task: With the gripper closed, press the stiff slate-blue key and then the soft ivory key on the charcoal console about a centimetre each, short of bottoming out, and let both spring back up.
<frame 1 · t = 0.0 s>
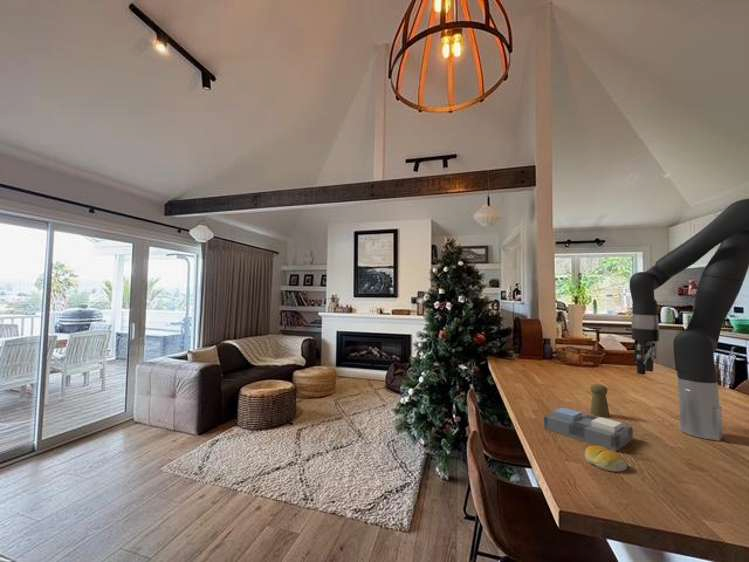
hand: (645, 372, 115), 17 cm above the table, tool pointing down, fingers open, 8 cm apart
slate-blue key: (567, 415, 108), point 4 cm above the table, slide at 0.0 cm
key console: (586, 433, 103), on the table
bread roll: (605, 465, 84), on the table
ivory key: (606, 425, 99), point 4 cm above the table, slide at 0.0 cm
cork: (600, 415, 121), on the table
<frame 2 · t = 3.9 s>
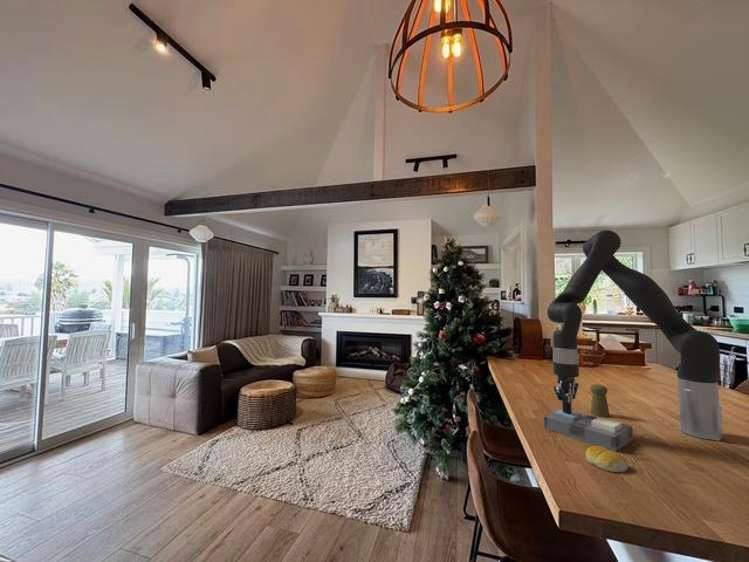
hand: (567, 412, 108), 5 cm above the table, tool pointing down, fingers closed
slate-blue key: (567, 416, 108), point 4 cm above the table, slide at 0.5 cm, touching gripper
everything else where it was.
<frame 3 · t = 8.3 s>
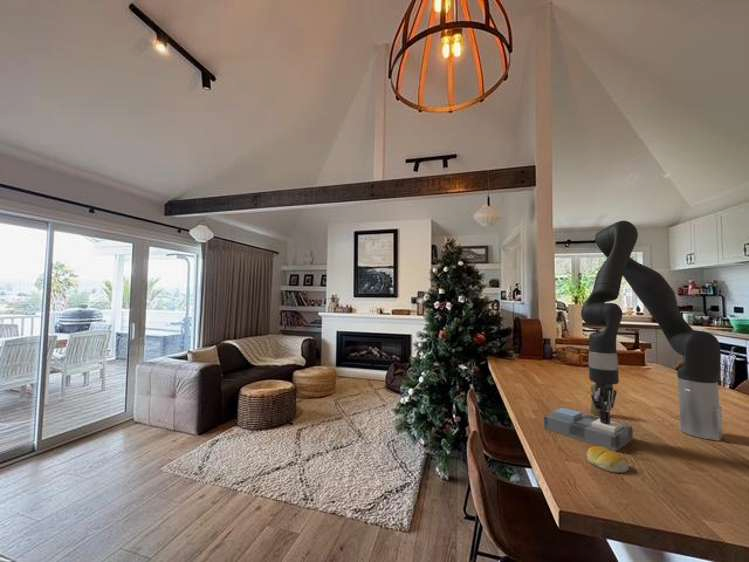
hand: (605, 423, 99), 5 cm above the table, tool pointing down, fingers closed
slate-blue key: (567, 415, 108), point 4 cm above the table, slide at 0.1 cm
ivory key: (606, 427, 98), point 4 cm above the table, slide at 0.5 cm, touching gripper
everything else where it was.
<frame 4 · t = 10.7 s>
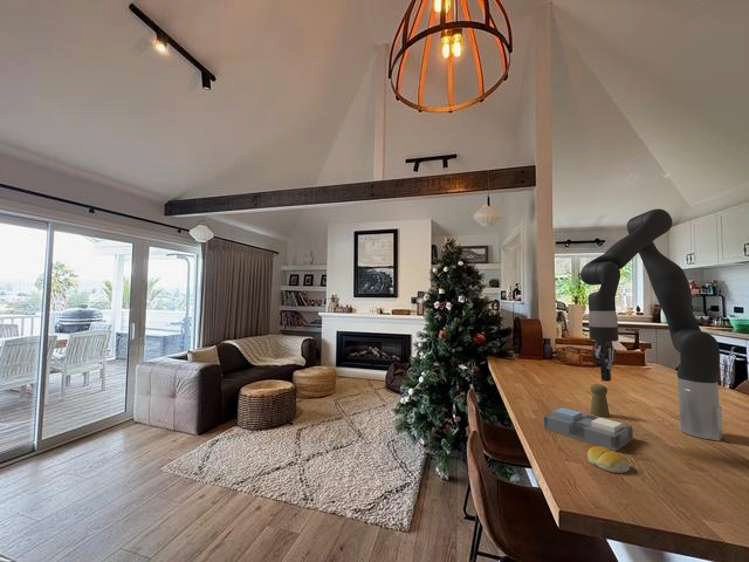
hand: (606, 380, 100), 18 cm above the table, tool pointing down, fingers closed
ivory key: (606, 426, 99), point 4 cm above the table, slide at 0.1 cm
everything else where it was.
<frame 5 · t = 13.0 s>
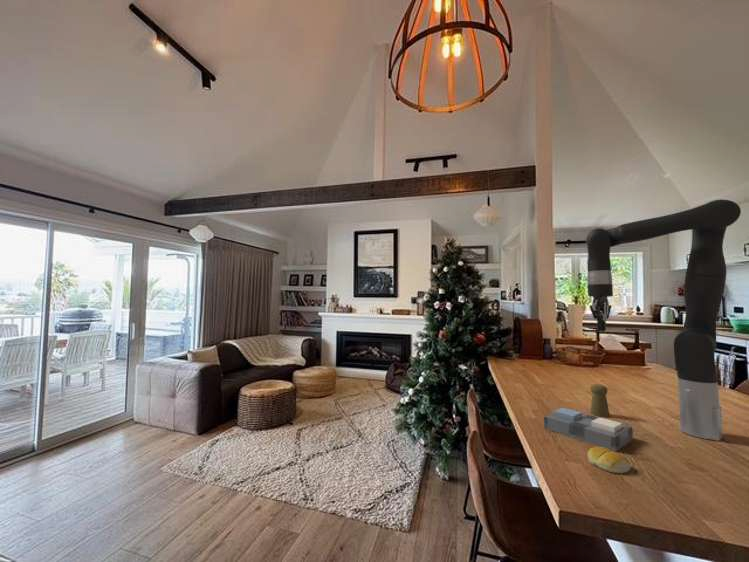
hand: (601, 330, 116), 32 cm above the table, tool pointing down, fingers closed
nothing on the table moved.
at the end: slate-blue key slide at 0.1 cm; ivory key slide at 0.1 cm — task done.
